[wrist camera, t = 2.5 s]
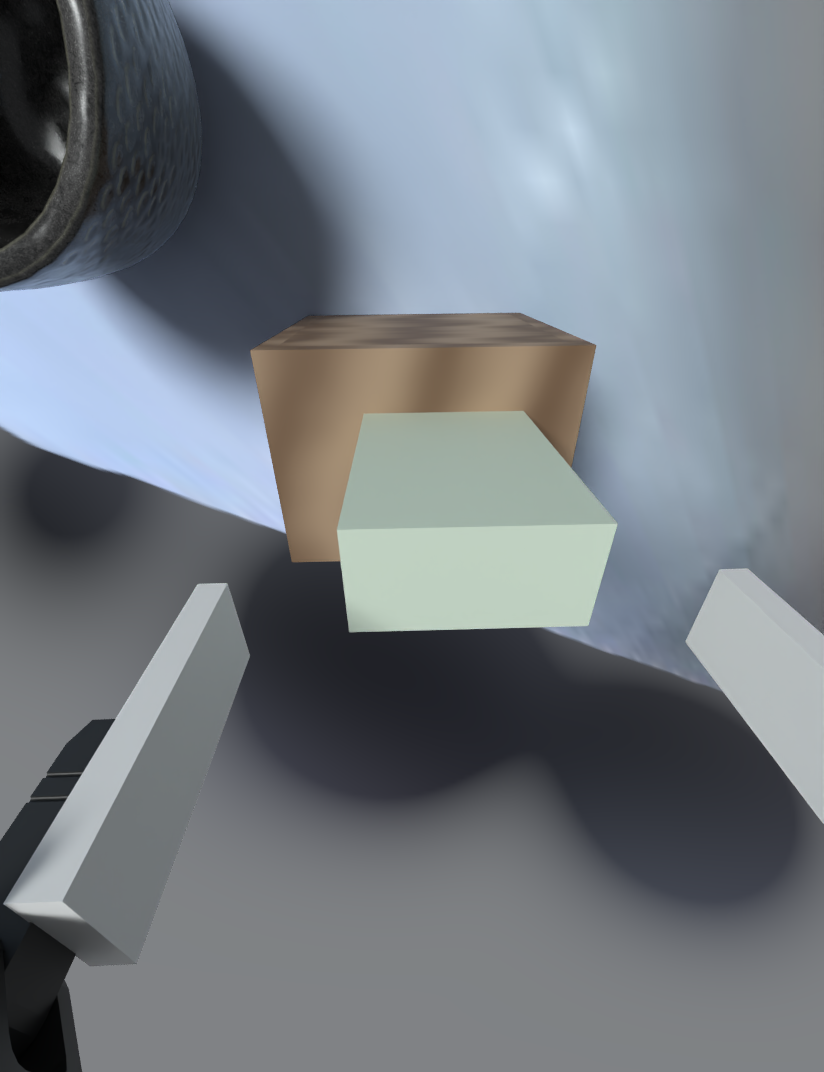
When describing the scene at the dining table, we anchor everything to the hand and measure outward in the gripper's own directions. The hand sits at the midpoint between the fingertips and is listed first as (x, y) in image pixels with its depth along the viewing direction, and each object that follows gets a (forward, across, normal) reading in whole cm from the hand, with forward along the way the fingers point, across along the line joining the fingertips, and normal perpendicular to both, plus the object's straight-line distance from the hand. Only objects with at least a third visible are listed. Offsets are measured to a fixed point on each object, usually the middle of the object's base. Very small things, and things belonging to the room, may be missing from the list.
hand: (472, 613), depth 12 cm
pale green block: (+12, 0, 0) cm, 13 cm away
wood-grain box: (+28, +1, +1) cm, 28 cm away
